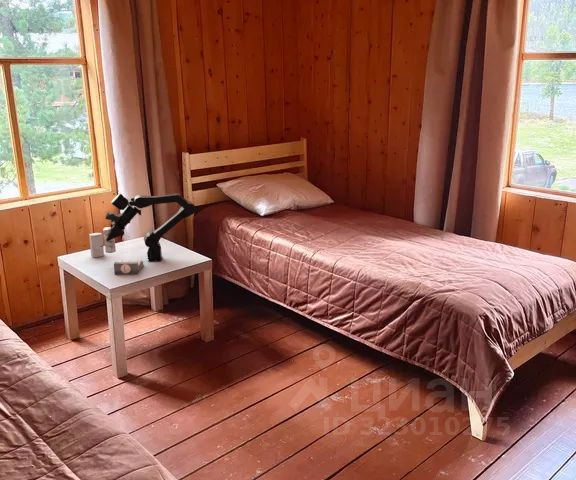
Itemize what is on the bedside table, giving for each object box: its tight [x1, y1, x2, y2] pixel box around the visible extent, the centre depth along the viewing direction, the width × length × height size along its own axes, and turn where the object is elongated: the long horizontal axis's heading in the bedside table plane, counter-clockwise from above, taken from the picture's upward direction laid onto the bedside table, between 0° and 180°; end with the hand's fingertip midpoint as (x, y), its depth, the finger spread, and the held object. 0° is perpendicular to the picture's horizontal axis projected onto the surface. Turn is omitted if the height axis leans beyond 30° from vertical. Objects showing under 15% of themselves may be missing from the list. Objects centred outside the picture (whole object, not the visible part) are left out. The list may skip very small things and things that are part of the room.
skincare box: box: [88, 232, 105, 258], centre depth 295 cm, size 6×4×12 cm
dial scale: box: [113, 259, 144, 276], centre depth 274 cm, size 11×14×6 cm
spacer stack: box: [102, 226, 117, 254], centre depth 279 cm, size 5×5×12 cm
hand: (106, 239), depth 279 cm, fingers closed on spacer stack, 5 cm apart
